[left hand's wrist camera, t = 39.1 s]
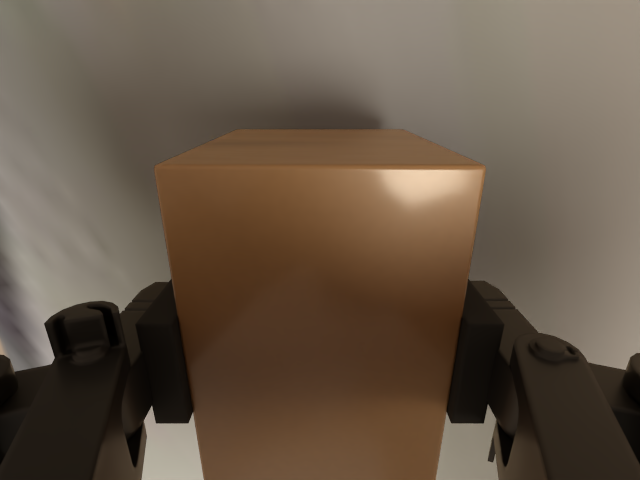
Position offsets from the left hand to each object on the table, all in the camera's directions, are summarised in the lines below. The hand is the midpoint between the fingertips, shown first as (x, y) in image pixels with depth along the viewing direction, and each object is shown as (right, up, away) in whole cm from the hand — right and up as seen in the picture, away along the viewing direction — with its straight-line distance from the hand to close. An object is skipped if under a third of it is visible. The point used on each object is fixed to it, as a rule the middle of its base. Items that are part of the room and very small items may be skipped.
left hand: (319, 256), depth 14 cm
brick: (0, +1, +1) cm, 1 cm away
